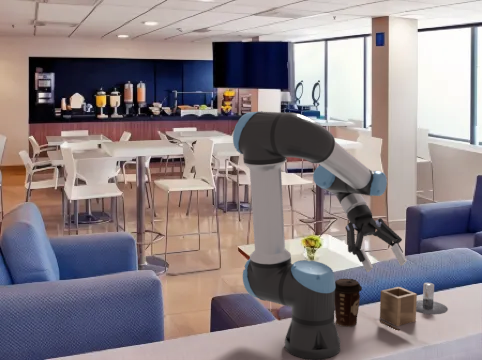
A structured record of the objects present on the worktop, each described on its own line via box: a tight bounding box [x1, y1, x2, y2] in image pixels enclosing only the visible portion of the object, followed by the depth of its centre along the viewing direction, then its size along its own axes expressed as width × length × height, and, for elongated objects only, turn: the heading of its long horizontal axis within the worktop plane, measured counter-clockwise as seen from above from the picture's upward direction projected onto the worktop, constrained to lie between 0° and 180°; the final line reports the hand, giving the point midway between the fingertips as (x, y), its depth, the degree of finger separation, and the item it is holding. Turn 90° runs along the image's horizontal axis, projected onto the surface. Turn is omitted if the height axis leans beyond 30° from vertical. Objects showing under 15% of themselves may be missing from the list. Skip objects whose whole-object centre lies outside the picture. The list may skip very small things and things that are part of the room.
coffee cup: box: [334, 278, 363, 327], centre depth 181 cm, size 9×8×13 cm
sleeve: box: [379, 286, 418, 331], centre depth 180 cm, size 7×7×10 cm
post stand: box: [416, 282, 449, 315], centre depth 189 cm, size 12×12×9 cm
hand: (387, 266), depth 183 cm, fingers open, 13 cm apart
